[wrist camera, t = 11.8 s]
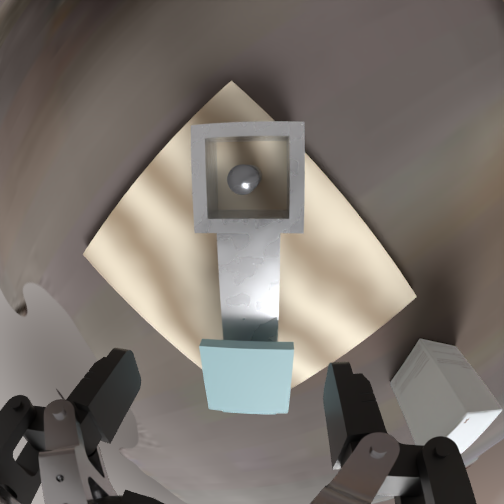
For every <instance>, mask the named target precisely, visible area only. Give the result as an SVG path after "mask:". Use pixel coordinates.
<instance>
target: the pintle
mask: <svg viewBox="0 0 504 504" xmlns="http://www.w3.org/2000/svg"><path fill="white" fill-rule="evenodd" d="M261 179H262V172H261V170H260V169H259V168H258V167H257V166H255V165H244V164H242V165H237V166H235V167H233V168H232V169H231V170H230V172H229V173H228V176H227V183H228V186H229V188H230V189H231V190H232V191H233V192H234V193H236V194H239V195H246V194H249V193H251V192H252V191H253V190H254V189H255V188H256V187H257V185H258V184H259V183H260V182H261Z"/></svg>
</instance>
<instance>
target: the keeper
mask: <svg viewBox="0 0 504 504" xmlns="http://www.w3.org/2000/svg"><path fill="white" fill-rule="evenodd" d="M199 349H200V356H201V363H202V369H203V376H204V382H205V388H206V394H207V400H208V406H209V409H212V410H223V412H232V413H248V414H276V413H288V408H289V399H290V389H291V379H292V369H293V357H294V342H263V341H234V340H215V339H202V340H201V342H200V345H199Z"/></svg>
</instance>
